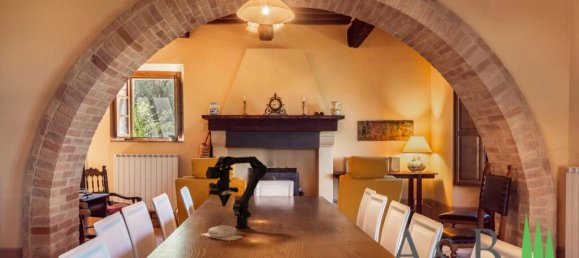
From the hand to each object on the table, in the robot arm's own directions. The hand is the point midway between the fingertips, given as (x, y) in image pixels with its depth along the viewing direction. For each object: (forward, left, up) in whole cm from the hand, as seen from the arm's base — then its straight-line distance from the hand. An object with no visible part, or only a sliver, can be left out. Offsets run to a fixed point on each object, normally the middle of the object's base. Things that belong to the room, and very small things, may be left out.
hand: (223, 206), depth 248 cm
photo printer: (+7, +10, -10) cm, 16 cm away
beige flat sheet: (+13, +10, -13) cm, 21 cm away
